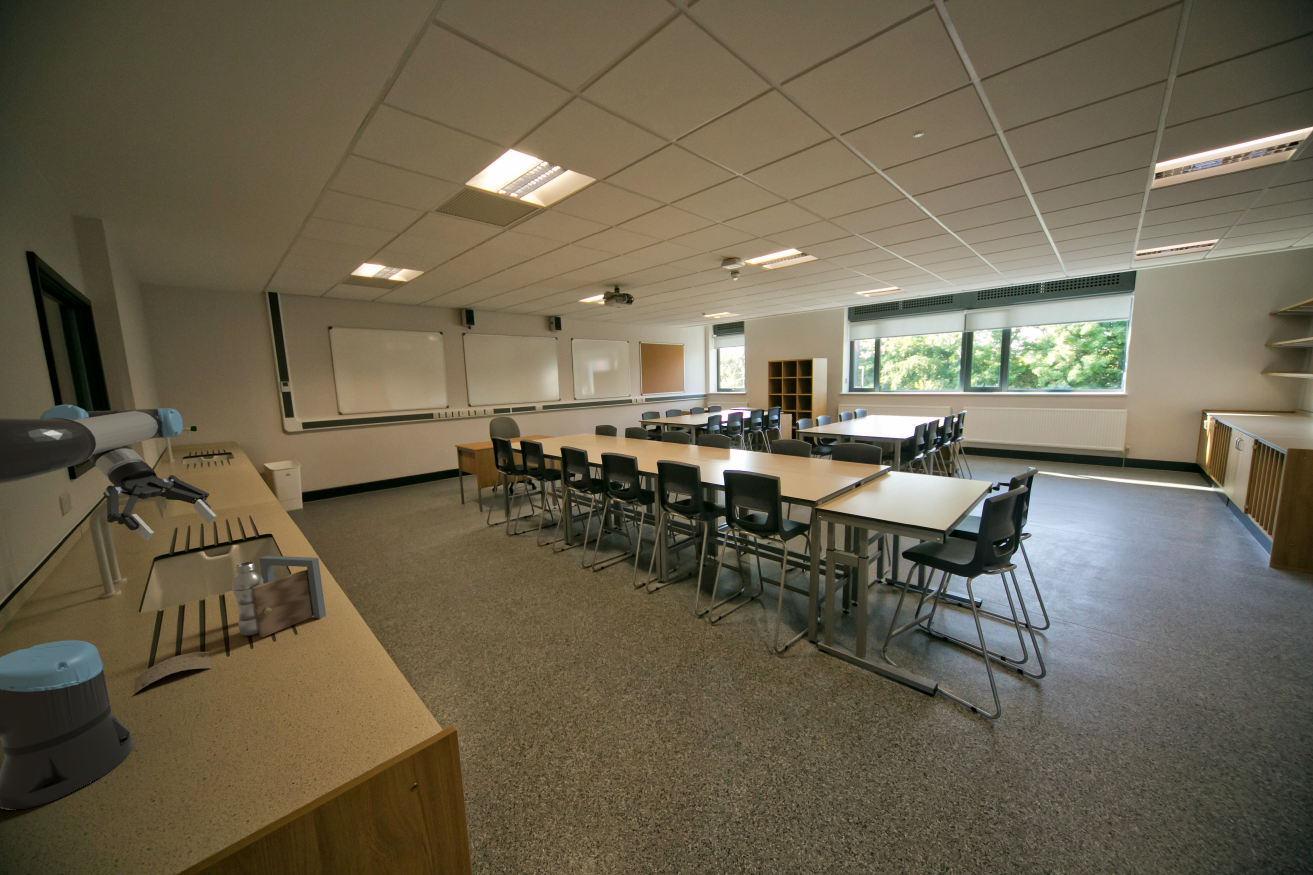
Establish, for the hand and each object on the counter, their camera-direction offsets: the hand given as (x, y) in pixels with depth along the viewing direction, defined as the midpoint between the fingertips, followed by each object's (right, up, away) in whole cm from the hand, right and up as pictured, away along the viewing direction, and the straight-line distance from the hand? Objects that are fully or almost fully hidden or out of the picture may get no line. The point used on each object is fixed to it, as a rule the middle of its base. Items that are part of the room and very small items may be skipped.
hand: (183, 527), depth 117 cm
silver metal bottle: (+10, -31, +10) cm, 34 cm away
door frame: (+15, -30, +19) cm, 38 cm away
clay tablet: (+5, -35, -7) cm, 36 cm away
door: (+18, -30, +12) cm, 37 cm away
